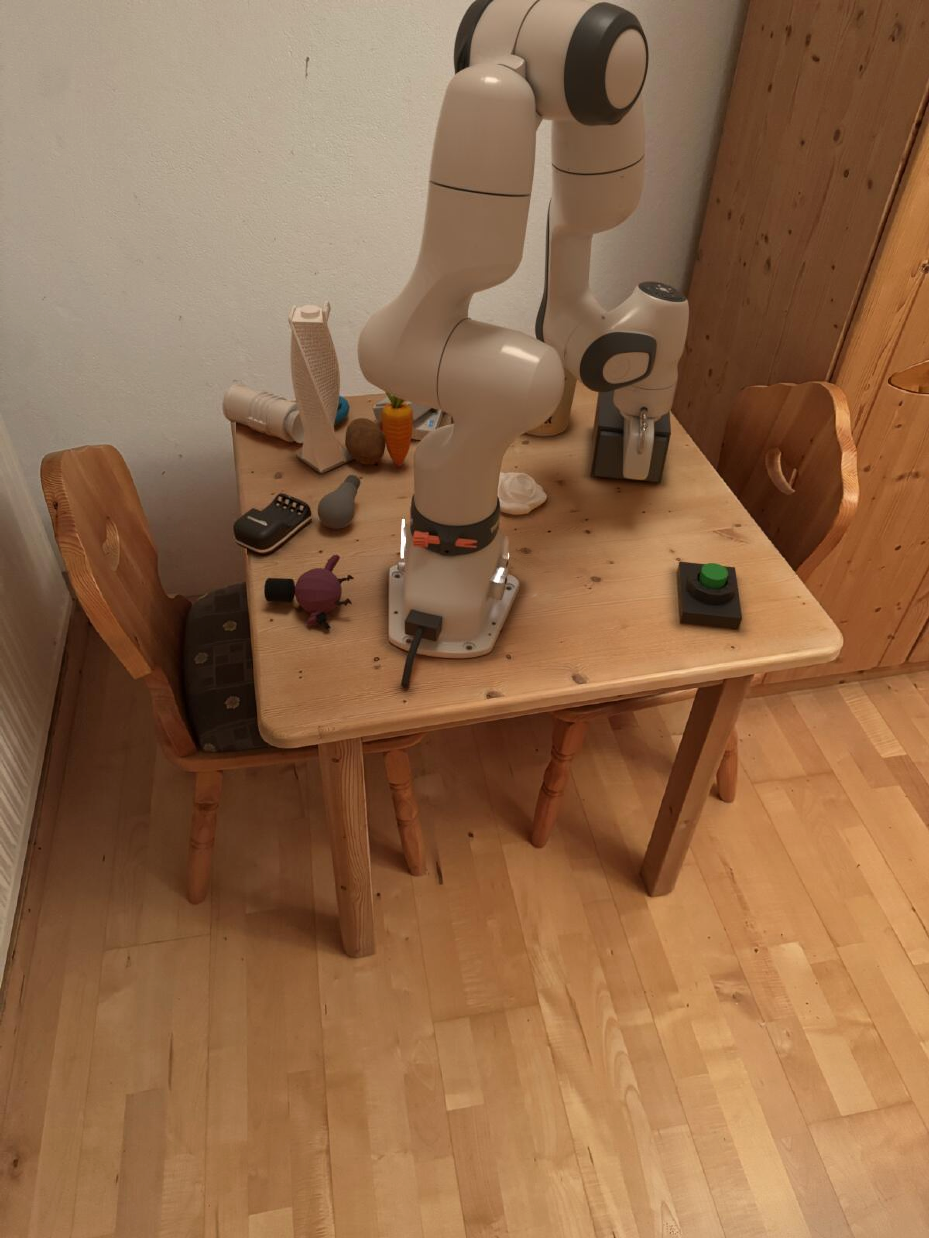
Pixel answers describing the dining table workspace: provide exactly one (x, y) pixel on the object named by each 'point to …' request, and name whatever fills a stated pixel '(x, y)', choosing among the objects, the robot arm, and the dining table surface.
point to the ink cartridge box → (426, 423)
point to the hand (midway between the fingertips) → (629, 471)
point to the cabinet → (621, 427)
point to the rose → (519, 493)
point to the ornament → (342, 410)
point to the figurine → (310, 591)
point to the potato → (365, 441)
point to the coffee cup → (558, 408)
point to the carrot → (397, 428)
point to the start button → (713, 576)
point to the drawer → (612, 456)
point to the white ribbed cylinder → (263, 413)
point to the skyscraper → (316, 386)
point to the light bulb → (339, 504)
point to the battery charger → (271, 524)
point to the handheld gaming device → (416, 408)
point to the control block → (707, 599)
